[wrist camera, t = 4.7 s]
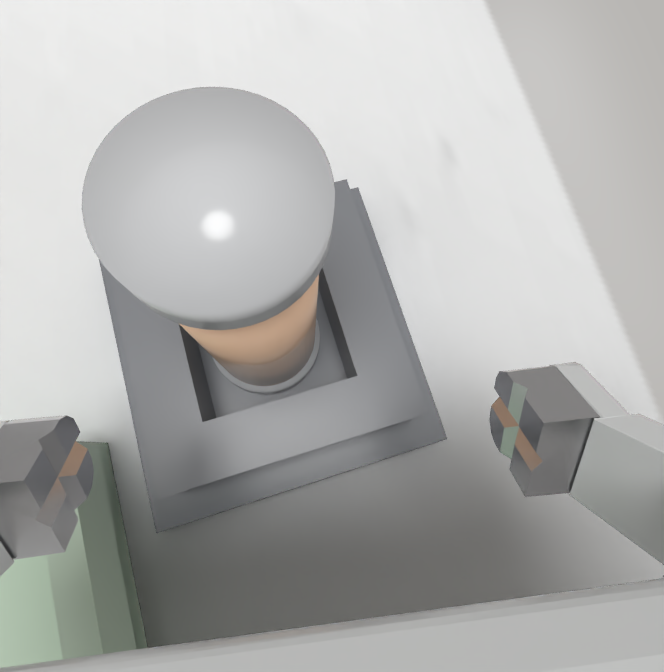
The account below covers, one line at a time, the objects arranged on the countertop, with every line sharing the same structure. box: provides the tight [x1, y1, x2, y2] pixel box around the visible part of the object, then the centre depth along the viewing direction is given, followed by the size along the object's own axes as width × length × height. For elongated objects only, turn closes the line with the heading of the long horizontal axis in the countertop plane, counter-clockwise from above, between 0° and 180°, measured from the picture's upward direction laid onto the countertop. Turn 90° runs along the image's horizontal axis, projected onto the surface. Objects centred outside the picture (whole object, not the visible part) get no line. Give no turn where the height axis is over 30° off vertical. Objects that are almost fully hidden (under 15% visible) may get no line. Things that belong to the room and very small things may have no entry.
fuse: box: [82, 87, 335, 395], centre depth 14 cm, size 4×4×12 cm
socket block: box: [99, 179, 447, 533], centre depth 19 cm, size 12×12×4 cm
